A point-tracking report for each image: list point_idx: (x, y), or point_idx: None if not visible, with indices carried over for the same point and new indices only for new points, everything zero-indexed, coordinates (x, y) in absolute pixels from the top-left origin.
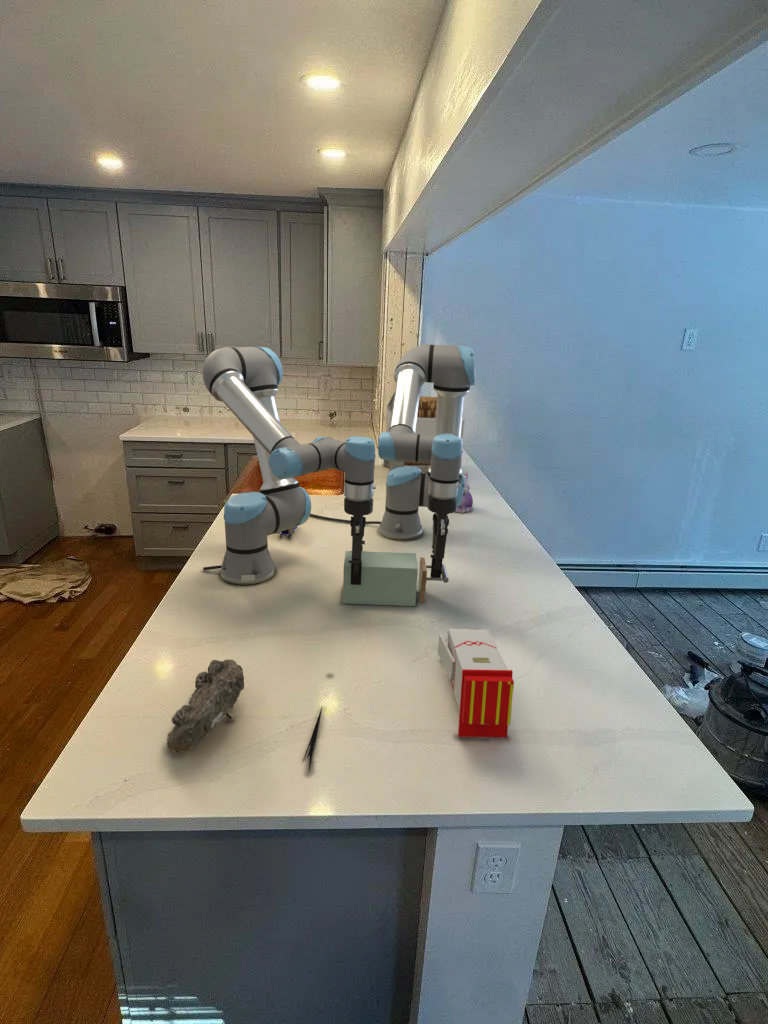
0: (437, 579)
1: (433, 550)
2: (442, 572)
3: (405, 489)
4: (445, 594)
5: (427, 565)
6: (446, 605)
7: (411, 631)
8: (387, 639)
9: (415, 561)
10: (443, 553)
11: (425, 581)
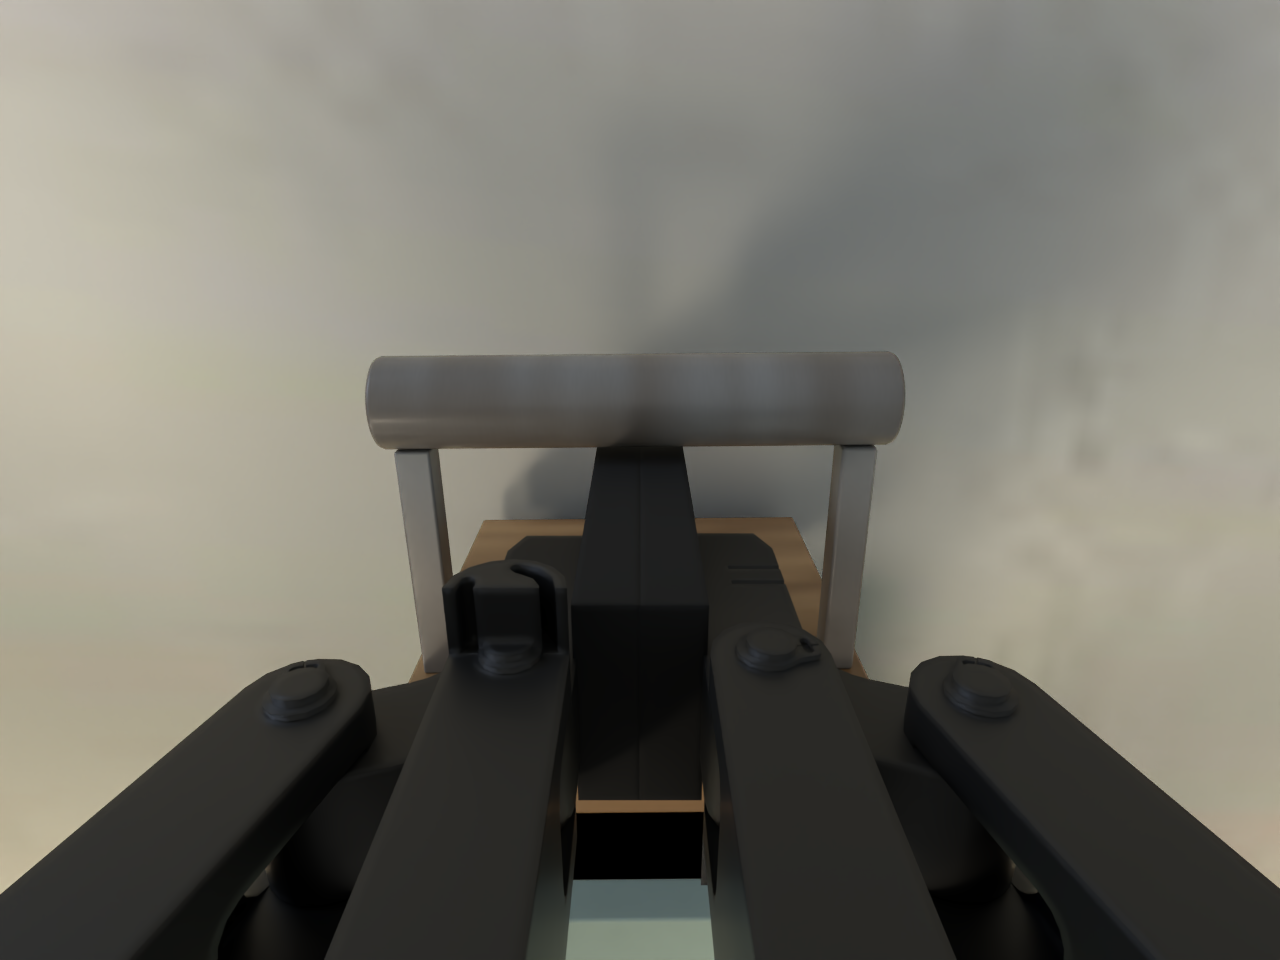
0: (867, 522)
1: (572, 878)
2: (676, 443)
3: None
4: (546, 274)
5: (424, 630)
6: (789, 289)
7: (1207, 623)
8: (1274, 773)
9: (675, 937)
10: (1161, 821)
11: (854, 653)
